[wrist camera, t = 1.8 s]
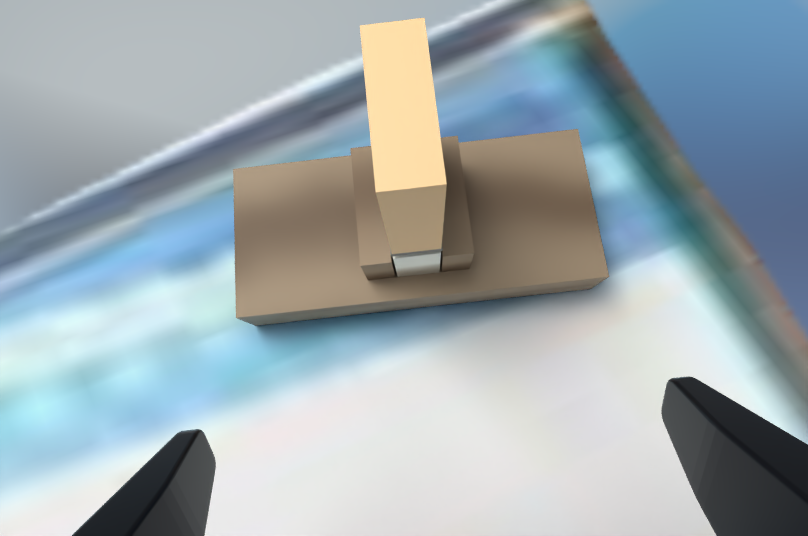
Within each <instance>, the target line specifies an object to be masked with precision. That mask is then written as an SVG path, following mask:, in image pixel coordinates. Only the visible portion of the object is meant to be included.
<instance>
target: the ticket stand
mask: <svg viewBox="0 0 808 536" xmlns="http://www.w3.org/2000/svg"><path fill="white" fill-rule="evenodd" d="M441 145H442V152H443V160H444V167H445V175H446V182H447V187H446V199H445V211H444V223H443V235H442V247H443V251H437V252H428V253H419V254H410V255H401V256H392V257H391V254H390V245H389V241H388V238H387V234H386V230H385V226H384V222H383V218H382V215H381V211H380V207H379V203H378V199H377V195H376V190H375V180H374V169H373V159H372V148H371V146H367V147H358V148H351V155H350V156H342V157H333V158H325V159H316V160H308V161H299V162H290V163H282V164H273V165H265V166H256V167H248V168H239V169H233V176H234V231H235V285H236V318H238V319H240V320H243V321H245V322H248V323H250V324H253V325H255V326H258V325H267V324H276V323H285V322H294V321H303V320H312V319H321V318H330V317H339V316H349V315H358V314H367V313H376V312H385V311H394V310H403V309H412V308H421V307H430V306H440V305H449V304H458V303H467V302H476V301H485V300H494V299H503V298H512V297H521V296H531V295H540V294H549V293H558V292H567V291H576V290H585V289H591V288H593V287H594V286H596V285H597V284H599V283H600V282H602V281H603V280H605V279H606V278H608V277H609V274H608V269H607V264H606V260H605V255H604V250H603V245H602V241H601V236H600V231H599V227H598V222H597V217H596V212H595V208H594V203H593V198H592V194H591V189H590V184H589V179H588V175H587V170H586V165H585V161H584V156H583V151H582V146H581V142H580V137H579V132H578V129H573V130H565V131H556V132H548V133H539V134H530V135H522V136H513V137H505V138H496V139H488V140H479V141H470V142H462V143H459V142H458V136H452V137H444V138H441Z"/></svg>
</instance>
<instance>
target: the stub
mask: <svg viewBox="0 0 808 536" xmlns="http://www.w3.org/2000/svg"><path fill="white" fill-rule="evenodd" d="M360 32H361V42H362V54H363V64H364V75H365V85H366V96H367V106H368V117H369V127H370V138H371V148H372V159H373V169H374V180H375V190H376V195H377V199H378V203H379V207H380V211H381V215H382V218H383V222H384V226H385V230H386V234H387V238H388V241H389V245H390V254H391V257H392V256H401V255H410V254H419V253H428V252H437V251H443V247H442V235H443V223H444V211H445V199H446V187H447V182H446V175H445V167H444V160H443V152H442V145H441V138H440V130H439V123H438V115H437V108H436V100H435V93H434V85H433V78H432V71H431V63H430V56H429V48H428V41H427V33H426V26H425V18H418V19H410V20H402V21H393V22H386V23H377V24H369V25H361V26H360Z"/></svg>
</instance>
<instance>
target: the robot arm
mask: <svg viewBox="0 0 808 536" xmlns="http://www.w3.org/2000/svg"><path fill="white" fill-rule="evenodd" d="M661 411H662V419H663V422H664V424H665V427H666V429H667V431H668V434H669V436H670V438H671V441H672V443H673V446H674V448H675V450H676V453H677V455H678V457H679V460H680V462H681V464H682V467H683V469H684V471H685V474H686V476H687V478H688V481H689V483H690V485H691V488H692V490H693V492H694V494H695V496H696V498H697V500H698V502H699V504H700V506H701V508H702V510H703V512H704V513H705V515H706V517H707V519H708V521H709V523H710V524H711V526H712V528H713V530H714V532H715V533H716V535H717V536H808V445H807V444H806V443H804V442H802V441H801V440H799V439H797V438H795V437H794V436H792V435H790V434H789V433H787V432H785V431H784V430H782V429H780V428H779V427H777V426H775V425H773V424H772V423H770V422H768V421H767V420H765V419H763V418H762V417H760V416H758V415H757V414H755V413H753V412H751V411H750V410H748V409H746V408H745V407H743V406H741V405H740V404H738V403H736V402H735V401H733V400H731V399H729V398H728V397H726V396H724V395H723V394H721V393H719V392H718V391H716V390H714V389H713V388H711V387H709V386H707V385H706V384H704V383H702V382H701V381H699V380H697V379H695V378H693V377H680V378H672V379H670V380H669V381H668V382H667V385H666V390H665V394H664V399H663V404H662V410H661ZM215 468H216V462H215V457H214V454H213V452H212V450H211V447H210V445H209V443H208V441H207V438H206V436H205V434H204V432H203V431H202V430H199V429H196V430H186V431H181V432H179V433H177V434H176V435H175V436H174V437H173V438H172V439H171V440H170V441H169V442H168V443H167V444H166V445H165V446H164V447H163V448H162V449H160V450H159V451H158V452H157V453H156V454H155V455H154V456H153V457H152V458H151V459H150V460H149V461H148V462H147V463H146V464H145V465H144V466H143V467H142V468H141V469H140V470H139V471H138V472H137V473H136V474H135V475H134V476H133V477H132V478H131V479H130V480H129V481H127V482H126V483H125V484H124V485H123V486H122V487H121V488H120V489H119V490H118V491H117V492H116V493H115V494H114V495H113V496H112V497H111V498H110V499H109V500H108V501H107V502H106V503H105V504H104V505H103V506H102V507H101V508H100V509H99V510H98V511H97V512H96V513H94V514H93V515H92V516H91V517H90V518H89V519H88V520H87V521H86V522H85V523H84V524H83V525H82V526H81V527H80V528H79V529H78V530H77V531H76V532H75V533H74V534H73V535H72V536H204V535H205V529H206V523H207V517H208V511H209V505H210V499H211V493H212V487H213V481H214V475H215Z"/></svg>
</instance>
